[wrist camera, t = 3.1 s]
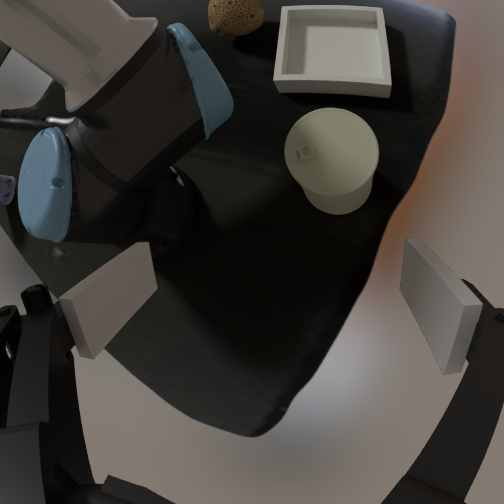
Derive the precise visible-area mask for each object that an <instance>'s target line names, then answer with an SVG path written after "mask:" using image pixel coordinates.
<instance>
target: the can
mask: <svg viewBox="0 0 504 504" xmlns="http://www.w3.org/2000/svg"><path fill="white" fill-rule="evenodd" d="M285 159H286V163H287V166H288V169H289V171H290V173H291V174H292V176H293V177H294V178H295V179H296V181H297V182H298V183H299V184H300V185H301V187H302V188H303V190H304V192H305V195H306V197H307V198H308V200H309V201H310V202H311V203H312V204H313V205H314V206H315V207H316V208H318V209H319V210H321V211H323V212H326V213H329V214H336V215H340V214H346V213H350V212H352V211H354V210H356V209H358V208H359V207H360V206H361V205H362V204H363V203H364V202H365V201H366V200H367V198H368V196H369V194H370V191H371V188H372V178H373V174H374V172H375V169H376V167H377V164H378V159H379V148H378V143H377V139H376V137H375V135H374V133H373V131H372V129H371V128H370V127H369V125H368V124H367V123H366V122H365V121H364V120H363V119H361V118H360V117H359V116H357V115H356V114H354V113H352V112H349V111H346V110H343V109H338V108H324V109H319V110H315V111H312V112H310V113H308V114H306V115H305V116H303V117H302V118H301V119H299V120H298V121H297V122H296V123H295V124H294V126H293V127H292V128H291V130H290V132H289V134H288V136H287V139H286V143H285Z"/></svg>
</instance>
